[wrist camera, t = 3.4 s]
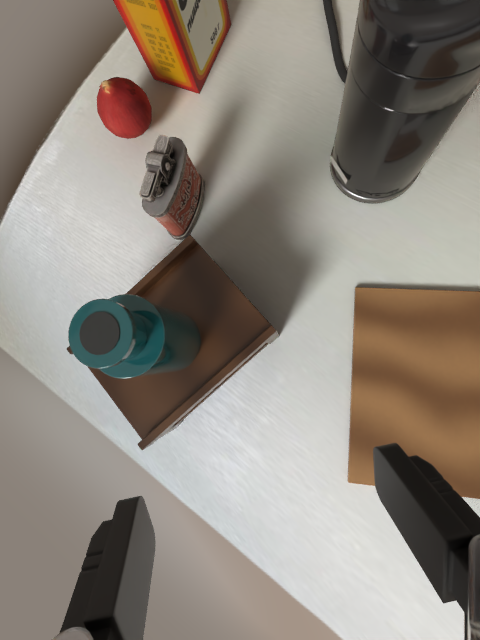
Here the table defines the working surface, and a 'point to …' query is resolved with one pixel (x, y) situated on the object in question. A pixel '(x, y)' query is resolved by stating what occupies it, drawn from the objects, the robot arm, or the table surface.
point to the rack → (215, 348)
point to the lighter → (172, 187)
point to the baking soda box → (177, 37)
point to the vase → (133, 337)
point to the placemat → (417, 381)
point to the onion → (123, 107)
